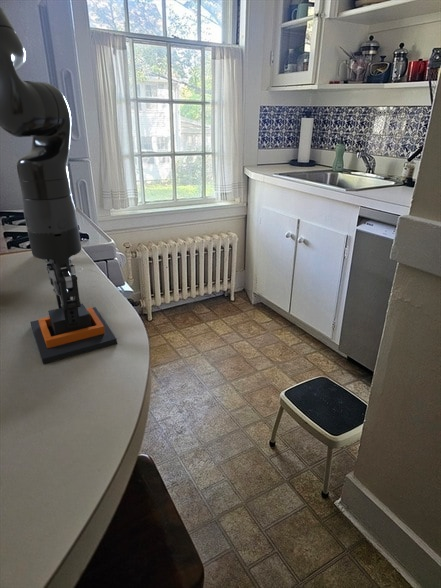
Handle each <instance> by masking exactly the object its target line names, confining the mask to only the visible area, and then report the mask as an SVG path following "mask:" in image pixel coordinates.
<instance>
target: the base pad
mask: <svg viewBox="0 0 441 588" xmlns="http://www.w3.org/2000/svg"><path fill="white" fill-rule="evenodd" d="M85 308H86V309H87V311H88V312H89V314H90V320H91V326H92V327H88V328H84V329H80V330H76V331H72V332H68V333H64V334H60V335H56V336H55V335H54V332H53V330H52V327H51V322H50V317H49V316H46V317H42V318H38V319H37V320H31V321H30V325H31V326H30V327H31V330H32V332H33V336H34V339H35V343H36V345H37V350H38V352H39V356H40V359H41V362H42V365H45V364H49V363H54V362H57V361H59V360H63V359H67V358H71V357H74V356H78V355H81V354H85V353H88V352H92V351H96V350H99V349H103V348H107V347H111V346H115V345H118V338H117V337H116V336H115V334H114V333H113V331H112V330H111V328H110V326H109V325H108V324H107V322H106V320H105V319H104V318H103V316H102V314H101V313H100V312H99V310H98V308H97V306H94V307H93V306H91V307H85Z"/></svg>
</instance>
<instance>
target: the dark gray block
mask: <svg viewBox="0 0 441 588" xmlns="http://www.w3.org/2000/svg"><path fill="white" fill-rule="evenodd" d="M80 303H81V304H80V307H77V308H78V314H79V319H80V325H79V326H75V327H71V328H68V327H67V326H66V323H65V318H64V312H63V308H54V309H50V310H48V315H49V316H48V317H50V322H51V327H52V330H53V332H54V335H55V336H56V335H60V334H64V333H68V332H72V331H76V330H80V329H84V328H88V327H92V326H91V320H90V314H89V312H88V311H87V309H86V308H87V307H86V306H85V305H84V303H83V302H80Z"/></svg>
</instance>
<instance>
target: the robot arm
mask: <svg viewBox="0 0 441 588" xmlns="http://www.w3.org/2000/svg"><path fill="white" fill-rule="evenodd" d="M25 49H26V48H25V47H24V45H23V42H22V41H21V39H20V37H19V35H18V33H17V32H16V30H15V28H14V26H13V25H12V23H11V21H10V20H9V18H8V16H7V14H6V13H5V11H4V9H3V7H2V6H1V5H0V129H1V130H3V131H4V132H6V133H7V134H9V135H10V136H12V137H15V138H32V140H31V148H30V150H29V152H28V153H26V154H24V155H22V156H21V157H19V158H18V159H17V160H16V165H15V167H16V168H15V169H16V175H17V179H18V184H19V189H20V194H21V197H22V199H21V200H22V209H23V210H22V211H23V216H24V221H25V222H24V223H25V226H26V231H27V236H28V240H29V245H30V251H31V254H32V256H33V257H35V258H36V259H38V260H45V261H46V260H47V261H46V263H45V268H46V271H47V274H48V280H49V282H50V283H49V284H50V285H51V286H52V287H53V288H52V291H53V292H54V294H55V297H56V302H57V307H58V308H63V312H64V318H65V323H66V326H67V327H68V328H71V327H75V326H79V325H80V319H79V314H78V308H77V307H80V304H81V303H82V302H81V300H80V292H79V285H78V276H77V274H76V273H77V271H76V267H75V264H74V263H72V260H71V259H70V260H69V258H70V257H71V258H72V257H73V256H76V255H78V254H79V253H80V252H81V250H82V243H81V236H80V230H79V228H80V227H79V222H78V215H77V210H76V209H77V208H76V206H75V202H74V199H73V194H72V188H71V187H72V186H71V181H70V176H69V169H68V162H69V156H70V155H69V154H70V145H71V133H72V116H71V110H70V107H69V104H68V102H67V100H66V97H65V96H64V94H63V93H62V91H61V90H60V89H59V88H58V87H56V86H55V85H54V84H51V83H49V82H43V81H34V80H33V81H32V80H22V78H21V77H20V76H19V74H18V72H17V71H18V70H20V69H21V68H22V67H23V66H24V65H25V62H26V58H27V54H26V53H27V52H26V50H25ZM71 298H72V299H71ZM58 308H57V309H58Z"/></svg>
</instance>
